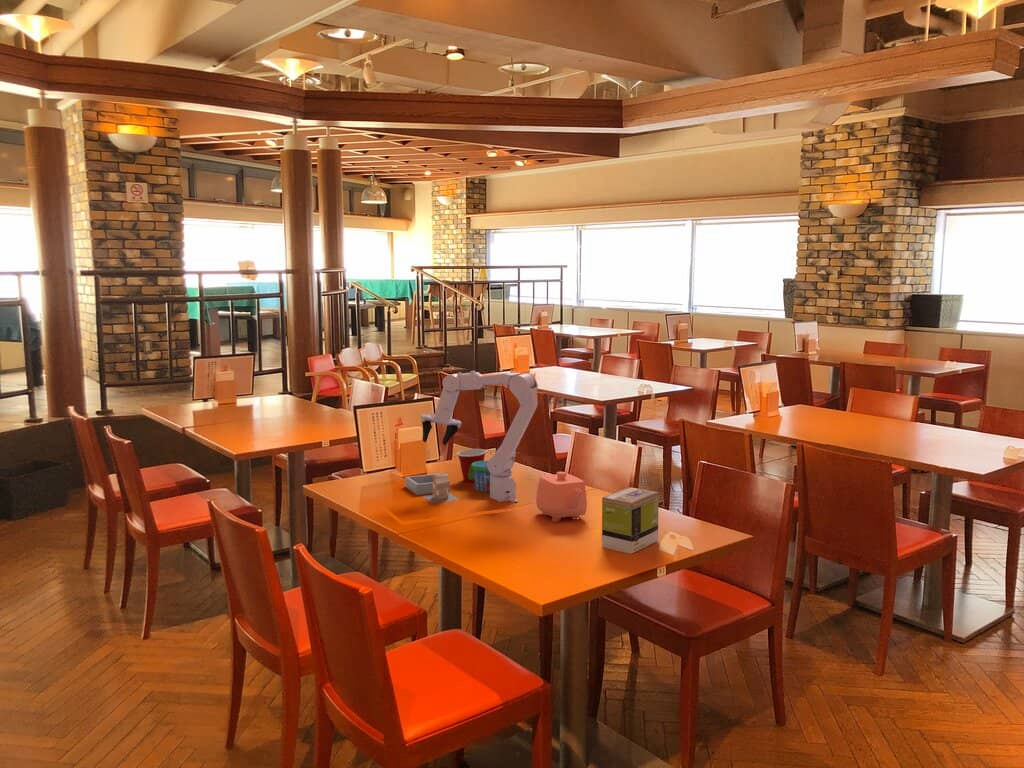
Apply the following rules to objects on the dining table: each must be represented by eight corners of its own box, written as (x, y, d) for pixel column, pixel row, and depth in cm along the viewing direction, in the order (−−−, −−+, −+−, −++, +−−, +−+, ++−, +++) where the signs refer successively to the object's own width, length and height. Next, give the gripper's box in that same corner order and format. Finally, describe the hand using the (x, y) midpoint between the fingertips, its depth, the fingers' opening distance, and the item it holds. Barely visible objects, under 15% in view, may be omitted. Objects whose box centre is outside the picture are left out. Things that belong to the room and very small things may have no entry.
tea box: (628, 534, 240) (630, 485, 238) (658, 542, 234) (660, 491, 232) (600, 547, 229) (601, 495, 227) (631, 555, 222) (633, 502, 220)
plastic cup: (454, 480, 304) (455, 448, 302) (483, 479, 306) (483, 447, 304) (458, 487, 293) (458, 454, 292) (488, 486, 295) (488, 453, 294)
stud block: (460, 502, 273) (460, 491, 272) (431, 506, 268) (431, 494, 268) (448, 495, 282) (448, 484, 281) (421, 498, 277) (421, 487, 277)
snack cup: (460, 490, 289) (460, 462, 288) (482, 485, 296) (482, 458, 295) (491, 498, 278) (491, 468, 277) (513, 493, 285) (513, 464, 284)
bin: (449, 493, 284) (449, 481, 283) (416, 497, 279) (416, 484, 278) (437, 486, 295) (437, 473, 294) (405, 489, 289) (405, 476, 289)
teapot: (596, 524, 251) (597, 478, 249) (559, 528, 245) (560, 482, 244) (563, 505, 270) (564, 463, 269) (528, 509, 265) (529, 467, 264)
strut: (448, 498, 274) (448, 475, 273) (437, 499, 272) (437, 476, 271) (443, 495, 278) (443, 472, 277) (432, 496, 276) (432, 473, 275)
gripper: (460, 405, 288) (449, 440, 291) (422, 399, 281) (411, 434, 284) (467, 413, 282) (455, 449, 285) (429, 406, 275) (417, 443, 278)
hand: (434, 442), depth 284 cm, fingers open, 7 cm apart
